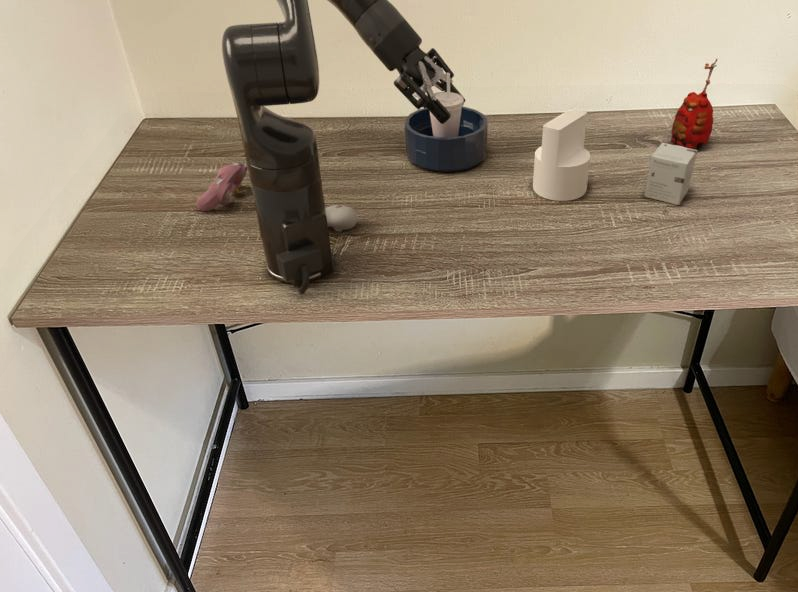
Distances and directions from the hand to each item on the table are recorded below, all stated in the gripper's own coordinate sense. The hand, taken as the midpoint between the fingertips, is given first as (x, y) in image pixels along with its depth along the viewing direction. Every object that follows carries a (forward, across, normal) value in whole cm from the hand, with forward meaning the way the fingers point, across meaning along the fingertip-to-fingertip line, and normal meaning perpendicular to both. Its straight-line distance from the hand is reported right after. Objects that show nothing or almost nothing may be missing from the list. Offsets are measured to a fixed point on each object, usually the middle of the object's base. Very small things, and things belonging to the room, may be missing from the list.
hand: (454, 112), depth 132 cm
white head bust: (-1, -29, +12) cm, 32 cm away
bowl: (+5, 0, +7) cm, 8 cm away
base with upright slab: (+21, -5, -9) cm, 23 cm away
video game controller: (-15, -28, +27) cm, 41 cm away
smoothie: (+4, 0, +7) cm, 8 cm away
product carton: (+33, -1, -21) cm, 39 cm away
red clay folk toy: (+33, +20, -22) cm, 45 cm away
